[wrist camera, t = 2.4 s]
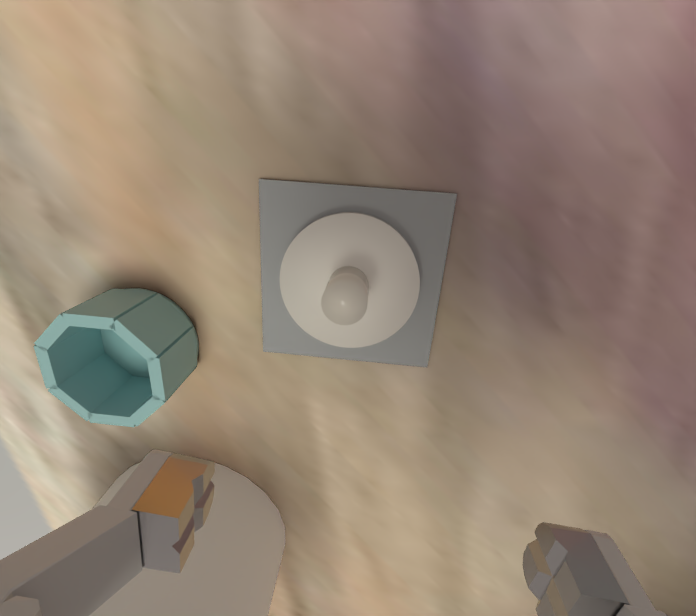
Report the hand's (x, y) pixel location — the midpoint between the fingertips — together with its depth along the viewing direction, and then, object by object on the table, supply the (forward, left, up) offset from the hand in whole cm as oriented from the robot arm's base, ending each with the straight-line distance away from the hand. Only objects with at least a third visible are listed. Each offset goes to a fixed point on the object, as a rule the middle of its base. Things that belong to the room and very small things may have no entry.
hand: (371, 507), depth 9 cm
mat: (+2, 0, -17) cm, 17 cm away
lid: (+2, 0, -17) cm, 17 cm away
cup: (+17, +6, -17) cm, 25 cm away
